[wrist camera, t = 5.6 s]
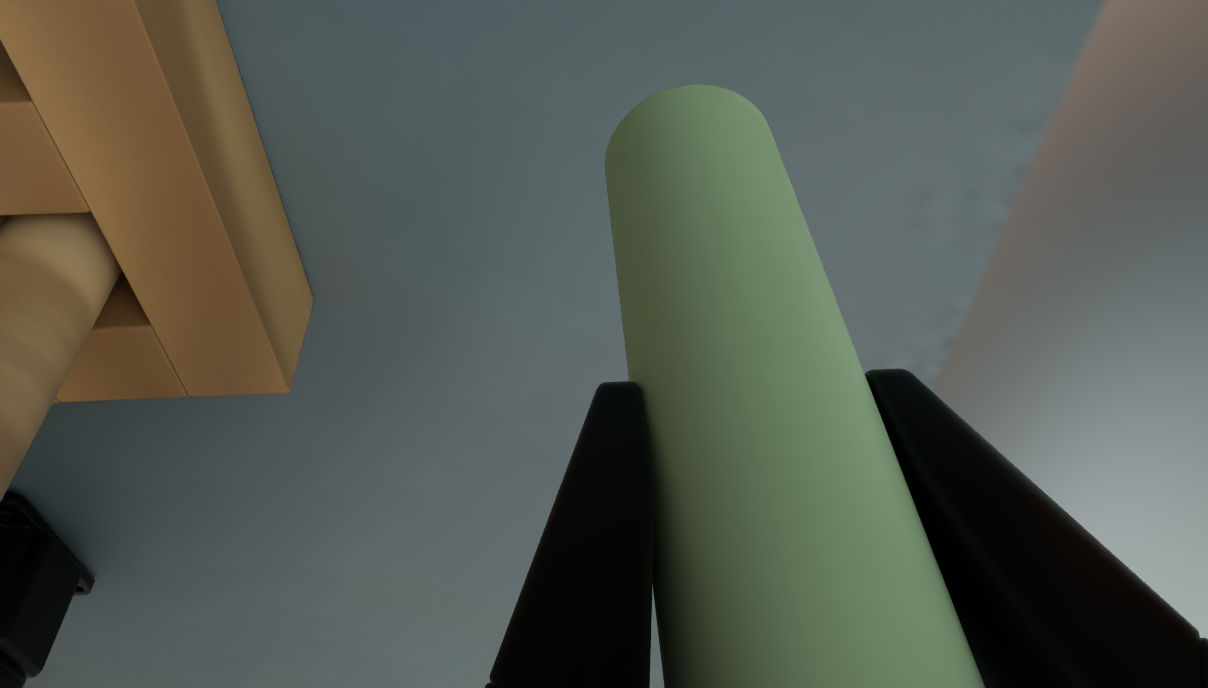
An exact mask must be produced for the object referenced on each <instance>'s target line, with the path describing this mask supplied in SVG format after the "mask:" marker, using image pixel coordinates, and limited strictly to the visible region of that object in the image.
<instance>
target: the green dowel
mask: <svg viewBox="0 0 1208 688" xmlns="http://www.w3.org/2000/svg"><path fill="white" fill-rule="evenodd" d="M605 175H606V184H607V192H608V201H609V210H610V218H611V227H612V236H613V245H614V253H615V262H616V271H617V279H618V288H619V297H620V305H621V314H622V323H623V331H624V340H625V349H626V357H627V366H628V375H629V381H633V382H636V383H637V384H638V385H639V388H640V392H641V399H642V405H643V411H644V417H645V423H646V430H647V436H648V442H649V448H650V455H651V461H652V467H653V476H654V489H655V509H654V544H653V579H652V583H653V592H654V600H655V609H656V618H657V627H658V635H659V644H660V653H661V661H662V670H663V679H664V687H665V688H985V686H984V683H983V681H982V678H981V675H980V673H979V670H978V668H977V665H976V662H975V660H974V657H973V655H972V652H971V649H970V647H969V644H968V642H967V639H966V636H965V634H964V631H963V629H962V626H961V623H960V621H959V618H958V616H957V613H956V610H955V608H954V605H953V603H952V600H951V597H950V595H949V592H948V590H947V587H946V584H945V582H944V579H943V577H942V574H941V571H940V569H939V566H938V564H937V561H936V558H935V556H934V553H933V551H932V548H931V546H930V543H929V540H928V538H927V535H926V533H925V530H924V527H923V525H922V522H921V520H920V517H919V514H918V512H917V509H916V507H915V504H914V501H913V499H912V496H911V494H910V491H909V488H908V486H907V483H906V481H905V478H904V475H903V473H902V470H901V468H900V465H899V462H898V460H897V457H896V455H895V452H894V449H893V447H892V444H891V442H890V439H889V436H888V434H887V431H886V429H885V426H884V423H883V421H882V418H881V416H880V413H879V411H878V408H877V405H876V403H875V400H874V398H873V395H872V392H871V390H870V387H869V385H868V382H867V379H866V377H865V374H864V372H863V369H862V366H861V364H860V361H859V359H858V356H857V353H856V351H855V348H854V346H853V343H852V340H851V338H850V335H849V333H848V330H847V327H846V325H845V322H844V320H843V317H842V314H841V312H840V309H839V307H838V304H837V301H836V299H835V296H834V294H833V291H832V288H831V286H830V283H829V281H828V278H827V276H826V273H825V270H824V268H823V265H822V263H821V260H820V257H819V255H818V252H817V250H816V247H815V244H814V242H813V239H812V237H811V234H810V231H809V229H808V226H807V224H806V221H805V218H804V216H803V213H802V211H801V208H800V205H799V203H798V200H797V198H796V195H795V192H794V190H793V187H792V185H791V182H790V179H789V177H788V174H787V172H786V169H785V166H784V164H783V161H782V159H781V156H780V153H779V151H778V148H777V146H776V143H775V141H774V138H773V135H772V133H771V130H770V128H769V125H768V123H767V121H766V119H765V118H764V116H763V114H762V113H761V112H760V111H759V110H758V108H757V107H756V106H755V105H754V104H752V103H751V102H750V101H749V100H747V99H746V98H744V97H743V96H741V95H740V94H737V93H735V92H733V91H731V90H728V89H725V88H722V87H718V86H713V85H706V84H691V85H682V86H677V87H673V88H670V89H667V90H664V91H661V92H659V93H657V94H654V95H652V96H650V97H649V98H647V99H646V100H644V101H642V102H641V103H640V104H638V105H637V106H636V107H635V108H633V109H632V110H631V111H630V112H629V113H628V114H627V115H626V116H625V117H624V119H623V120H622V121H621V123H620V124H619V125H618V127H617V128H616V130H615V132H614V133H613V135H612V137H611V140H610V142H609V145H608V148H607V152H606V157H605Z"/></svg>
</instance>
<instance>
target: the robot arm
mask: <svg viewBox="0 0 1208 688" xmlns="http://www.w3.org/2000/svg"><path fill="white" fill-rule="evenodd" d="M865 377H866V379H867V382H868V385H869V387H870V390H871V392H872V395H873V398H874V400H875V403H876V405H877V408H878V411H879V413H880V416H881V418H882V421H883V423H884V426H885V429H886V431H887V434H888V436H889V439H890V442H891V444H892V447H893V449H894V452H895V455H896V457H897V460H898V462H899V465H900V468H901V470H902V473H903V475H904V478H905V481H906V483H907V486H908V488H909V491H910V494H911V496H912V499H913V501H914V504H915V507H916V509H917V512H918V514H919V517H920V520H921V522H922V525H923V527H924V530H925V533H926V535H927V538H928V540H929V543H930V546H931V548H932V551H933V553H934V556H935V558H936V561H937V564H938V566H939V569H940V571H941V574H942V577H943V579H944V582H945V584H946V587H947V590H948V592H949V595H950V597H951V600H952V603H953V605H954V608H955V610H956V613H957V616H958V618H959V621H960V623H961V626H962V629H963V631H964V634H965V636H966V639H967V642H968V644H969V647H970V649H971V652H972V655H973V657H974V660H975V662H976V665H977V668H978V670H979V673H980V675H981V678H982V681H983V683H984V686H985V688H1208V639H1206V638H1200V636H1199V632H1198V630H1196V628H1195V627H1193V626H1192V625H1191V624H1190V623H1189V622H1188V621H1187V620H1186V619H1185V618H1184V617H1182V616H1181V615H1180V614H1179V613H1178V612H1177V611H1176V610H1175V609H1174V608H1172V607H1171V606H1170V605H1169V604H1168V603H1167V602H1166V601H1165V600H1163V599H1162V598H1161V597H1160V596H1159V595H1158V594H1157V593H1156V592H1154V591H1153V590H1152V589H1151V588H1150V587H1149V586H1148V585H1147V584H1146V583H1145V582H1143V581H1142V580H1141V579H1140V578H1139V577H1138V576H1137V575H1136V574H1135V573H1133V572H1132V571H1131V570H1130V569H1129V568H1128V567H1127V566H1126V565H1124V564H1123V563H1122V562H1121V561H1120V560H1119V559H1118V558H1117V557H1115V556H1114V555H1113V554H1112V553H1111V552H1110V551H1109V550H1108V549H1107V548H1105V547H1104V546H1103V545H1102V544H1101V543H1100V542H1099V541H1098V540H1097V539H1096V538H1094V537H1093V536H1092V535H1091V534H1090V533H1089V532H1088V531H1087V530H1085V529H1084V528H1083V527H1082V526H1081V525H1080V524H1079V523H1078V522H1077V521H1076V520H1074V519H1073V518H1072V517H1071V516H1070V515H1069V514H1068V513H1067V512H1065V511H1064V510H1063V509H1062V508H1061V507H1060V506H1059V505H1058V504H1057V503H1055V502H1054V501H1053V500H1052V499H1051V498H1050V497H1049V496H1048V495H1046V494H1045V493H1044V492H1043V491H1042V490H1041V489H1040V488H1039V487H1038V486H1037V485H1035V484H1034V483H1033V482H1032V481H1031V480H1030V479H1029V478H1027V476H1025V475H1024V474H1023V473H1022V472H1021V471H1020V470H1019V469H1018V468H1017V467H1015V466H1014V465H1013V464H1012V463H1011V462H1010V461H1009V460H1008V459H1007V458H1005V457H1004V456H1003V455H1002V454H1001V453H1000V452H999V451H998V450H997V449H995V448H994V447H993V446H992V445H991V444H990V443H989V442H988V441H986V440H985V439H984V438H983V437H982V436H981V435H980V434H979V433H978V432H976V431H975V430H974V429H973V428H972V427H971V426H970V425H969V424H968V423H966V422H965V421H964V420H963V419H962V418H961V417H959V415H958V414H956V413H955V412H954V411H953V410H952V409H951V408H950V407H949V406H948V405H946V404H945V403H944V402H943V401H942V400H941V399H940V398H939V397H938V396H936V395H935V394H934V393H933V392H932V391H931V390H930V389H929V388H927V387H926V386H925V385H924V384H923V383H922V382H921V381H920V380H919V379H917V378H916V377H915V376H914V375H913V374H912V373H910V372H908V371H907V370H904V369H880V370H870V371H868V372H866V373H865ZM654 509H655V489H654V476H653V467H652V461H651V455H650V448H649V442H648V436H647V430H646V423H645V417H644V411H643V405H642V399H641V392H640V388H639V385H638V384H637V383H636V382H633V381H624V382H605V383H602V384H600V385H599V386H598V388H597V390H596V392H595V395H594V398H593V400H592V403H591V406H590V408H589V411H588V414H587V416H586V419H585V422H584V424H583V427H582V430H581V432H580V435H579V438H578V441H577V443H576V446H575V449H574V451H573V454H572V457H571V459H570V462H569V465H568V467H567V470H566V473H565V475H564V478H563V481H562V483H561V486H560V489H559V491H558V494H557V497H556V499H555V502H554V505H553V507H552V510H551V513H550V516H549V518H548V521H547V524H546V526H545V529H544V532H543V534H542V537H541V540H540V542H539V545H538V548H537V550H536V553H535V556H534V558H533V561H532V564H531V566H530V569H529V572H528V574H527V577H526V580H525V582H524V585H523V588H522V590H521V593H520V596H519V599H518V601H517V604H516V607H515V609H514V612H513V615H512V617H511V620H510V623H509V625H508V628H507V631H506V633H505V636H504V639H503V641H502V644H501V647H500V649H499V652H498V655H497V657H496V660H495V663H494V665H493V668H492V671H491V673H490V681H491V683H488V684H487V685H486V686H485V688H649V684H650V649H651V614H652V579H653V544H654ZM94 582H95V580H94V578H93V577H92V576H91V575H90V574H89V572H88V571H87V570H86V569H85V568H84V567H83V565H82V564H81V563H80V562H79V561H78V560H77V558H76V557H75V556H74V555H73V554H72V553H71V551H70V550H69V549H68V548H67V547H66V546H65V544H64V543H63V542H62V541H61V540H60V539H59V537H58V536H57V535H56V534H55V533H54V532H53V530H52V529H51V528H50V527H49V526H48V525H47V523H46V522H45V521H44V520H43V519H42V517H41V516H40V515H39V514H38V513H37V512H36V510H35V509H34V508H33V507H32V506H31V505H30V503H29V502H28V501H27V500H26V499H25V498H24V497H23V496H21V495H19V494H17V493H14V492H9V491H6V492H5V494H4V496H3V498H2V500H1V502H0V688H23V686H24V684H25V681H26V679H27V678H32V677H36V676H37V675H38V674H39V673H40V672H41V671H42V669H43V667H44V665H45V662H46V660H47V657H48V655H49V653H50V650H51V648H52V645H53V643H54V641H55V638H56V636H57V633H58V631H59V629H60V626H61V624H62V621H63V619H64V616H65V614H66V612H67V609H68V607H69V604H70V602H71V600H72V597H73V595H85V594H88V593H90V592H91V590H92V587H93V585H94Z"/></svg>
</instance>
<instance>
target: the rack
mask: <svg viewBox="0 0 1208 688" xmlns="http://www.w3.org/2000/svg"><path fill="white" fill-rule="evenodd" d="M90 211H91V212H92V214H93V216H94V218H95V219H96V221H97V223H98V225H99V227H100V229H101V231H102V233H103V235H104V236H105V238H106V240H107V242H108V244H109V246H110V248H111V250H112V252H113V253H114V255H115V257H116V259H117V261H118V263H119V265H120V267H121V269H122V272H121V274H120V276H119V278H118V280H117V282H116V284H115V286H114V287H113V289H112V291H111V293H110V295H109V297H108V299H107V301H106V303H105V305H104V306H103V308H102V310H101V312H100V314H99V316H98V318H97V320H96V322H95V324H94V325H93V327H92V329H91V331H90V333H89V335H88V337H87V339H86V341H85V343H84V344H83V346H82V348H81V350H80V352H79V354H78V356H77V358H76V360H75V361H74V363H73V365H72V367H71V369H70V371H69V373H68V375H67V377H66V379H65V380H64V382H63V384H62V386H61V388H60V390H59V392H58V394H57V396H56V398H55V399H54V401H53V403H58V402H82V401H104V400H127V399H150V398H172V397H187V396H188V395H189V397H211V396H233V395H256V394H278V393H289V392H290V388H291V385H292V381H293V377H294V373H295V370H296V366H297V362H298V358H299V355H300V351H301V347H302V344H303V340H304V336H305V332H306V329H307V325H308V321H309V317H310V314H311V310H312V306H313V302H314V300H313V296H312V293H311V290H310V287H309V284H308V281H307V278H306V275H305V272H304V269H303V266H302V263H301V260H300V257H299V254H298V251H297V248H296V245H295V241H294V238H293V235H292V232H291V229H290V226H289V223H288V220H287V217H286V214H285V211H284V208H283V205H282V202H281V199H280V196H279V193H278V190H277V187H276V183H275V180H274V177H273V174H272V171H271V168H270V165H269V162H268V159H267V156H266V153H265V150H264V147H263V144H262V141H261V138H260V135H259V132H258V128H257V125H256V122H255V119H254V116H253V113H252V110H251V107H250V104H249V101H248V98H247V95H246V92H245V89H244V86H243V83H242V80H241V77H240V73H239V70H238V67H237V64H236V61H235V58H234V55H233V52H232V49H231V46H230V43H229V40H228V37H227V34H226V31H225V28H224V25H223V22H222V19H221V15H220V12H219V9H218V6H217V3H216V0H0V228H1V227H2V225H3V224H4V223H5V221H6V220H7V218H8V217H9V216H10V215H29V214H59V213H87V212H90Z"/></svg>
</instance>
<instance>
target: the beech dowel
mask: <svg viewBox="0 0 1208 688" xmlns="http://www.w3.org/2000/svg"><path fill="white" fill-rule="evenodd" d="M121 272H122V269H121V267H120V265H119V263H118V261H117V259H116V257H115V255H114V253H113V252H112V250H111V248H110V246H109V244H108V242H107V240H106V238H105V236H104V235H103V233H102V231H101V229H100V227H99V225H98V223H97V221H96V219H95V218H94V216H93V214H92V212H91V211H90V212H87V213H59V214H29V215H10V216H9V217H8V218H7V220H6V221H5V223H4V224H3V225H2V227H1V228H0V502H1V500H2V498H3V496H4V494H5V492H6V491H7V489H8V487H9V485H10V483H11V481H12V479H13V477H14V475H15V473H16V472H17V470H18V468H19V466H20V464H21V462H22V460H23V458H24V456H25V454H26V453H27V451H28V449H29V447H30V445H31V443H32V441H33V439H34V437H35V436H36V434H37V432H38V430H39V428H40V426H41V424H42V422H43V420H44V418H45V417H46V415H47V413H48V411H49V409H50V407H51V405H52V403H53V401H54V399H55V398H56V396H57V394H58V392H59V390H60V388H61V386H62V384H63V382H64V380H65V379H66V377H67V375H68V373H69V371H70V369H71V367H72V365H73V363H74V361H75V360H76V358H77V356H78V354H79V352H80V350H81V348H82V346H83V344H84V343H85V341H86V339H87V337H88V335H89V333H90V331H91V329H92V327H93V325H94V324H95V322H96V320H97V318H98V316H99V314H100V312H101V310H102V308H103V306H104V305H105V303H106V301H107V299H108V297H109V295H110V293H111V291H112V289H113V287H114V286H115V284H116V282H117V280H118V278H119V276H120V274H121Z"/></svg>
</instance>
